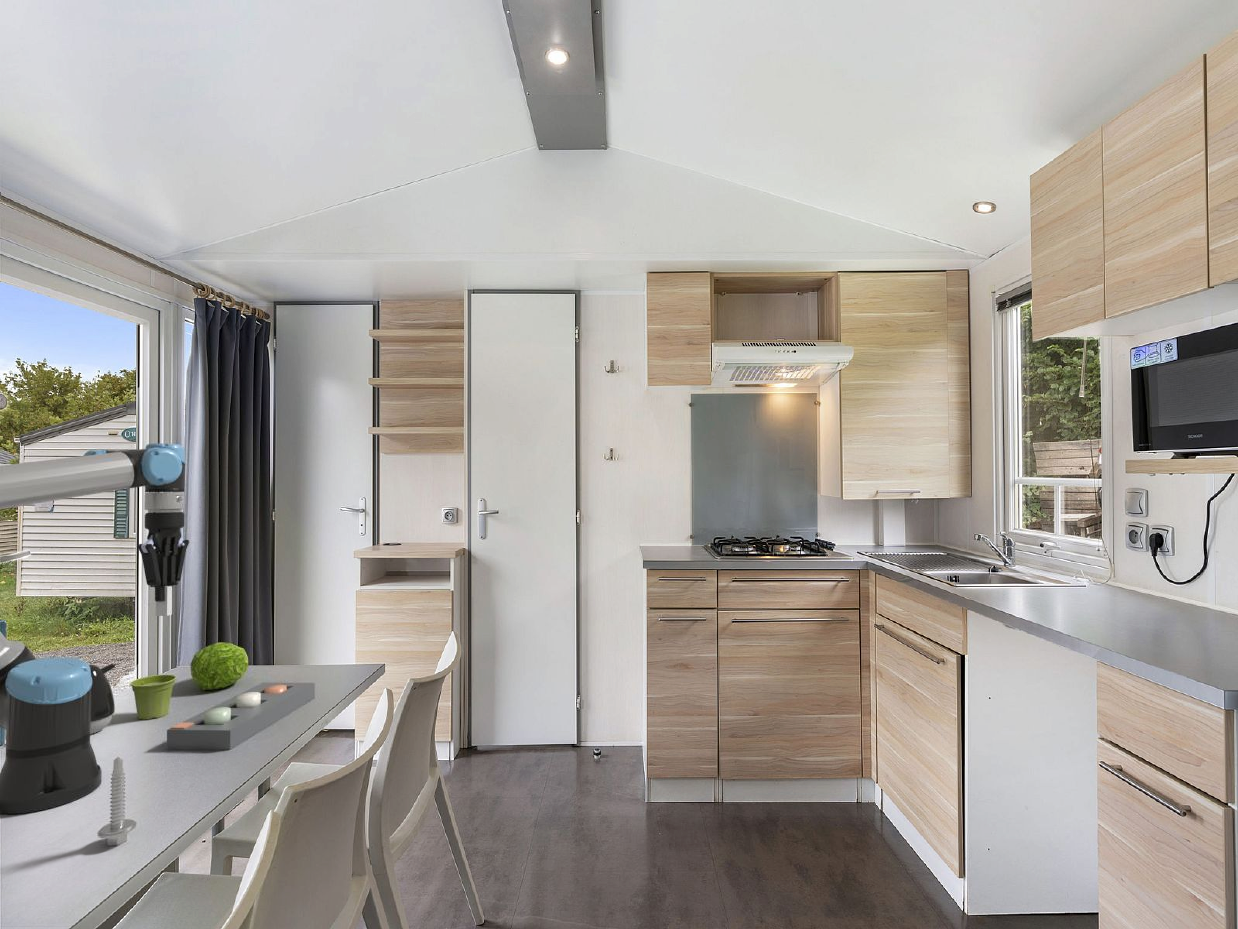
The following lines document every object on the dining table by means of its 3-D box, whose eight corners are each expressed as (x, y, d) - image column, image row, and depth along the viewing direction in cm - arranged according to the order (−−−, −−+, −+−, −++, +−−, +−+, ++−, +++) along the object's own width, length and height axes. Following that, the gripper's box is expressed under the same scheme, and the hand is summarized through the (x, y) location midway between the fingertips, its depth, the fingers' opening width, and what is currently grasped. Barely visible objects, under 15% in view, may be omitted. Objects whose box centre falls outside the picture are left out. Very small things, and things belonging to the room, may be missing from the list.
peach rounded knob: (279, 705, 165) (279, 690, 165) (260, 705, 165) (260, 690, 166) (290, 699, 170) (290, 684, 170) (271, 699, 170) (271, 684, 171)
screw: (109, 835, 105) (142, 832, 106) (89, 851, 100) (125, 848, 101) (110, 752, 106) (143, 750, 106) (91, 764, 101) (126, 762, 101)
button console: (230, 749, 139) (230, 729, 139) (166, 749, 140) (166, 728, 140) (314, 698, 173) (314, 681, 173) (263, 698, 174) (263, 681, 174)
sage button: (220, 732, 143) (221, 715, 143) (198, 732, 144) (198, 714, 144) (235, 724, 148) (235, 707, 148) (214, 723, 148) (214, 707, 149)
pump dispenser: (123, 729, 152) (124, 662, 153) (66, 744, 144) (67, 673, 144) (105, 721, 158) (106, 656, 158) (50, 735, 149) (51, 667, 150)
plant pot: (185, 709, 166) (186, 674, 166) (155, 723, 156) (156, 686, 157) (151, 709, 167) (151, 674, 167) (119, 722, 157) (119, 685, 157)
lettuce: (265, 650, 202) (223, 629, 199) (251, 659, 181) (203, 635, 179) (238, 690, 198) (195, 668, 196) (220, 704, 178) (171, 680, 175)
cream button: (252, 714, 154) (252, 698, 154) (231, 714, 154) (231, 698, 155) (265, 707, 159) (265, 692, 159) (245, 707, 159) (245, 692, 160)
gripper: (159, 512, 145) (157, 621, 144) (200, 510, 158) (199, 610, 157) (126, 512, 145) (124, 621, 144) (170, 510, 158) (169, 610, 157)
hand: (163, 615), depth 151 cm, fingers closed
